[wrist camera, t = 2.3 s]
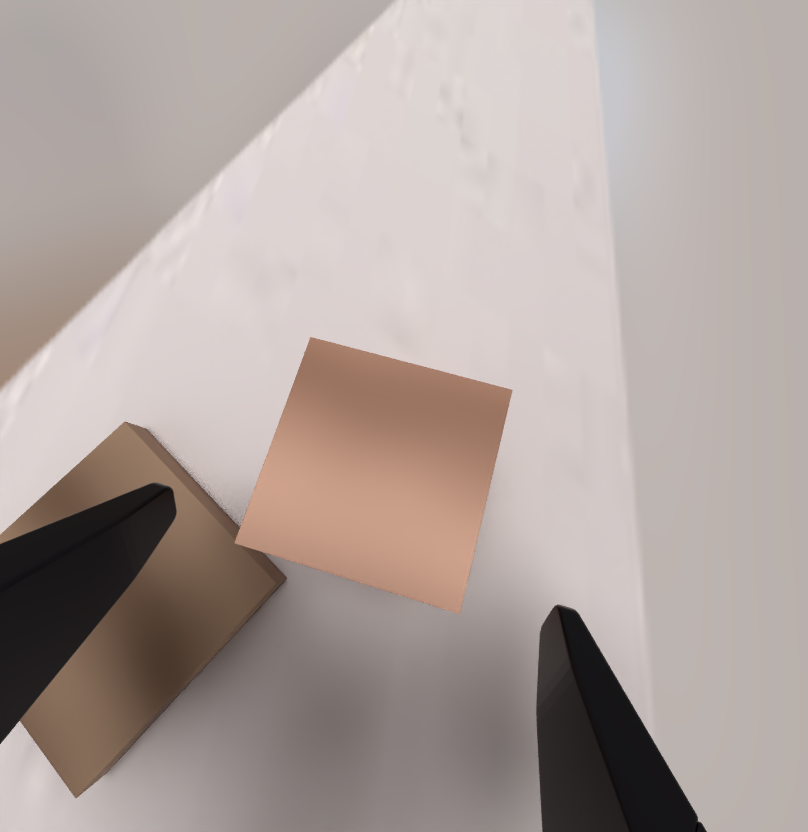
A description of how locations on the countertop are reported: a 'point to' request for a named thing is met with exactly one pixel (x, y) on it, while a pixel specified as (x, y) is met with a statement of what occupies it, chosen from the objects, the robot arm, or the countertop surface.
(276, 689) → the countertop surface
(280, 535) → the pillar
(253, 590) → the base board
